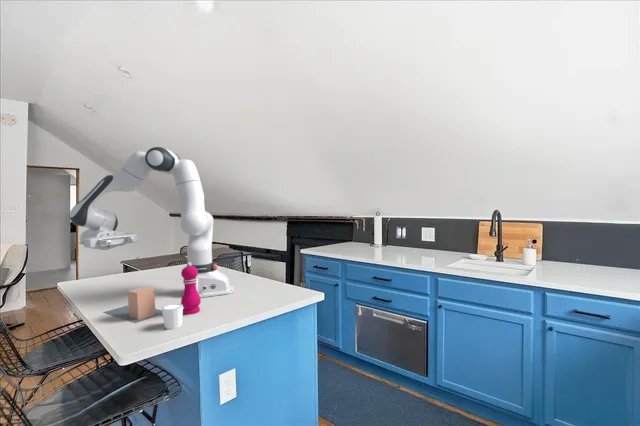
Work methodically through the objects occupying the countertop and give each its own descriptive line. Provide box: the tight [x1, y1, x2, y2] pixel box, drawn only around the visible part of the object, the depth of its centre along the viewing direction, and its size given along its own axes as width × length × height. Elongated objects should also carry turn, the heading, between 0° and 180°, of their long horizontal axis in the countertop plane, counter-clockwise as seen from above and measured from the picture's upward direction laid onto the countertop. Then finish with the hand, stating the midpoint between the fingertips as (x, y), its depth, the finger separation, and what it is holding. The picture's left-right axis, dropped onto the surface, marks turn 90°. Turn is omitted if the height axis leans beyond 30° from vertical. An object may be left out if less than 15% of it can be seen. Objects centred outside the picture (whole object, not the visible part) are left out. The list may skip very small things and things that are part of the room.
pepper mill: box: [180, 261, 202, 316], centre depth 131 cm, size 7×7×20 cm
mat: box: [103, 304, 163, 324], centre depth 133 cm, size 24×13×1 cm, turn 57°
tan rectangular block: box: [127, 286, 156, 320], centre depth 128 cm, size 7×7×10 cm
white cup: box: [161, 303, 184, 330], centre depth 118 cm, size 7×7×7 cm
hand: (120, 241), depth 140 cm, fingers open, 8 cm apart
